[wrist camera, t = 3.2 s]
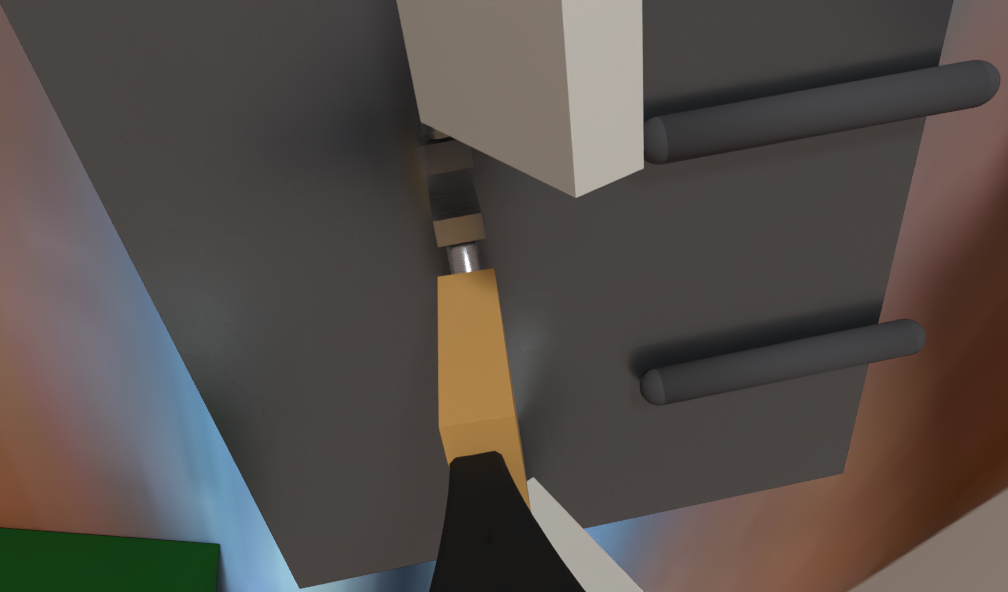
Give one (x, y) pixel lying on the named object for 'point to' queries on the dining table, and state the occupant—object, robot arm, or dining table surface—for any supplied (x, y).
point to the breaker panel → (480, 252)
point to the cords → (791, 122)
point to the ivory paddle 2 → (577, 545)
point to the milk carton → (103, 563)
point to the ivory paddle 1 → (534, 83)
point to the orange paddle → (476, 374)
